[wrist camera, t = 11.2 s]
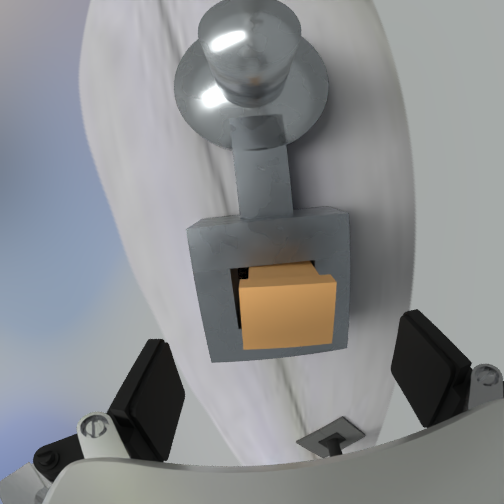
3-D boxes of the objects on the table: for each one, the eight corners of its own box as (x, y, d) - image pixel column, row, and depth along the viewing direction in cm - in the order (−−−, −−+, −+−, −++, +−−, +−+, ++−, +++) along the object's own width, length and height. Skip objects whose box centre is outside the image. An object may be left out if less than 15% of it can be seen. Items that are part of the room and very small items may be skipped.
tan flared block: (245, 245, 22) (238, 287, 13) (304, 242, 22) (336, 282, 13) (247, 287, 23) (243, 349, 14) (304, 284, 23) (331, 343, 14)
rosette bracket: (181, 48, 18) (142, -17, 8) (307, 36, 17) (335, -33, 8) (214, 330, 24) (194, 409, 14) (335, 317, 23) (374, 389, 14)
